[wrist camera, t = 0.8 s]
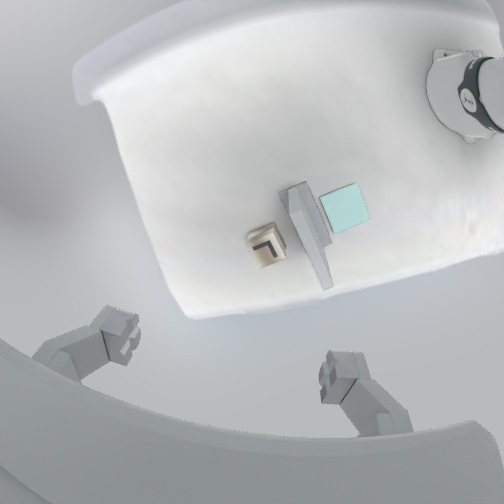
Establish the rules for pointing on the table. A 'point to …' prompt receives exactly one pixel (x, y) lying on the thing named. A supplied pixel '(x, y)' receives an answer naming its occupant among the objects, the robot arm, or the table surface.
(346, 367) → the robot arm
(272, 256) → the letter cube
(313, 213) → the screen
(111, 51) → the table surface
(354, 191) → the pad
